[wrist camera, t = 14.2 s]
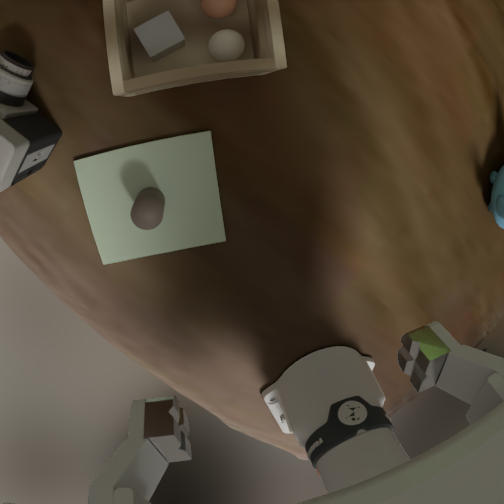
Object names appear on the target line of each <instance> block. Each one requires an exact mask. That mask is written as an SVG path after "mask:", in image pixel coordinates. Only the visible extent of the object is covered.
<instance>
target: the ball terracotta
mask: <svg viewBox="0 0 504 504" xmlns="http://www.w3.org/2000/svg"><path fill="white" fill-rule="evenodd" d="M236 5H237V0H201V1H200V6H201V9H202V11H203V12H204V13H205V14H206V15H207V16H209V17H211V18H224V17H227V16H229V15H230V14H231V13H232V12H233V11H234V10H235V8H236Z"/></svg>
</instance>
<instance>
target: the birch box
mask: <svg viewBox="0 0 504 504" xmlns="http://www.w3.org/2000/svg"><path fill="white" fill-rule="evenodd" d="M200 1H201V0H103V14H104V26H105V37H106V46H107V55H108V63H109V71H110V78H111V85H112V92H113V95H116V96H126V97H132V96H136V95H140V94H144V93H149V92H153V91H158V90H162V89H167V88H172V87H178V86H183V85H189V84H194V83H201V82H207V81H214V80H221V79H229V78H238V77H247V76H258V75H265V74H268V73H271V72H274V71H278V70H281V69H284V68H287V62H286V54H285V46H284V39H283V31H282V24H281V17H280V10H279V3H278V0H237V5H236V8H235V10H234V11H233V12H232V13H231V14H230V15H229V16H227V17H224V18H211V17H209V16H207V15H206V14H205V13H204V12H203V11H202V9H201V6H200ZM166 11H169V12H170V14H171V16H172V17H173V19H174V21H175V22H176V24H177V26H178V27H179V29H180V31H181V32H182V34H183V36H184V38H185V46H184V47H182V48H180V49H178V50H176V51H174V52H172V53H170V54H168V55H167V56H165V57H163V58H161V59H159V60H158V61H156V62H153V61H152V59H151V58H150V56H149V55H148V53H147V51H146V50H145V48H144V46H143V44H142V43H141V41H140V39H139V38H138V36H137V34H136V32H135V31H134V28H136V27H138V26H140V25H142V24H143V23H145V22H147V21H149V20H151V19H153V18H154V17H156V16H158V15H160V14H162V13H164V12H166ZM224 29H230V30H234V31H236V32H238V33H239V34H240V35H241V36H242V37H243V39H244V41H245V50H244V52H243V54H242V55H241V56H240V57H239V58H238V59H237V60H235V61H228V62H220V61H218V60H216V59H214V58H213V57H212V56H211V54H210V53H209V50H208V43H209V40H210V38H211V37H212V35H214V34H215V33H216V32H218V31H220V30H224Z"/></svg>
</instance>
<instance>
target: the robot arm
mask: <svg viewBox="0 0 504 504" xmlns="http://www.w3.org/2000/svg"><path fill="white" fill-rule="evenodd" d="M401 343H402V344H403V345H402V347H401V348H400V349H399V351H398V356H397V357H398V363H399V366H400V368H401V370H402V371H403V373H405V374H408V375H410V382H411V384H412V385H413V387H414V388H415V390H416V391H417V392H418V393H419V392H421V391H424V390H426V389H428V388H430V387H432V386H434V385H436V386H437V387H438V388H440V389H442V390H444V391H446V392H448V393H450V394H451V395H453V396H455V397H457V398H459V399H461V400H463V401H465V402H467V403H469V404H470V405H472V406H471V408H470V410H469V411H468V413H467V415H466V418H467V420H468V421H469V422H470V424H471V425H470V426H468V427H467V428H466V429H464V430H462V431H461V432H459V433H457V434H456V435H454V436H453V437H451V438H449V439H448V440H446V441H444V442H442V443H441V444H439V445H437V446H436V447H434V448H432V449H430V450H428V451H427V452H425V453H423V454H421V455H419V456H417V457H415V458H413V459H411V460H410V458H409V457H408V456H407V454H406V453H405V451H404V450H403V448H402V446H401V445H400V443H399V442H398V440H397V438H396V437H395V435H394V433H393V431H394V427H393V425H392V423H391V420H390V418H389V416H388V415H387V414H386V412H385V411H384V409H383V408H382V406H383V404H384V401H385V396H384V394H383V392H382V390H381V388H380V386H379V384H378V382H377V380H376V378H375V376H374V374H373V372H372V370H373V368H374V366H375V363H374V361H373V359H372V358H370V357H364V356H361V355H360V354H359V353H358V352H357V351H356V350H354V349H352V348H350V347H344V346H335V347H329V348H324V349H321V350H318V351H315V352H313V353H311V354H308V355H306V356H305V357H303V358H301V359H300V360H298V361H297V362H295V363H294V364H292V365H291V366H290V367H289V368H288V369H287V370H286V371H285V372H284V373H283V374H282V376H281V377H280V378H279V379H278V380H277V381H276V382H275V383H274V384H272V385H271V386H269V387H268V388H266V389H265V390H264V391H263V392H262V397H263V399H264V401H265V402H266V404H267V406H268V408H269V409H270V411H271V413H272V414H273V416H274V418H275V420H276V421H277V423H278V425H279V426H280V428H281V430H282V431H283V433H294V435H295V438H296V440H297V441H298V443H299V445H300V447H302V448H305V450H306V452H307V454H308V458H309V461H310V462H311V463H312V465H313V467H314V468H315V469H317V472H318V474H319V475H320V477H321V479H322V482H323V485H324V487H325V490H326V492H327V494H325V495H322V496H319V497H316V498H313V499H309V500H306V501H302V502H298V503H295V504H504V358H501V357H498V356H495V355H492V354H489V353H486V352H484V351H481V350H478V349H475V348H472V347H469V346H466V345H462V346H461V345H460V344H459V343H458V342H457V341H456V340H455V339H454V338H453V337H452V336H451V335H450V333H449V332H448V331H447V330H446V329H445V328H444V327H443V326H442V325H441V324H440V323H439V322H437V321H435V322H432V323H430V324H427V325H425V326H422V327H420V328H417V329H415V330H413V331H410V332H408V333H405V334H404V335H403V336H402V338H401ZM188 434H189V424H188V420H187V416H186V414H185V411H184V410H183V408H180V407H179V401H178V399H177V397H176V396H170V397H160V398H151V399H141V400H133V402H132V404H131V410H130V422H129V435H128V440H124V441H123V443H122V444H121V445H120V446H119V448H118V449H117V450H116V452H115V453H114V454H113V456H112V457H111V458H110V459H109V461H108V462H107V463H106V465H105V466H104V467H103V469H102V470H101V471H100V472H99V474H98V475H97V476H96V478H95V479H94V480H93V481H92V483H91V484H90V485H89V496H88V504H151V503H149V499H150V498H151V496H152V494H153V492H154V490H155V489H156V487H157V485H158V483H159V481H160V479H161V477H162V475H163V473H164V472H165V470H166V468H167V466H168V464H169V463H168V462H177V461H183V460H191V459H192V457H191V445H190V442H189V441H188V439H187V436H188ZM4 504H13V503H4Z"/></svg>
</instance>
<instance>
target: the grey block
mask: <svg viewBox="0 0 504 504" xmlns="http://www.w3.org/2000/svg"><path fill="white" fill-rule="evenodd" d="M134 31H135V32H136V34H137V36H138V38H139V39H140V41H141V43H142V44H143V46H144V48H145V50H146V51H147V53H148V55H149V56H150V58H151V59H152V61H153V62H156V61H158V60H159V59H161V58H163V57H165V56H167V55H168V54H170V53H172V52H174V51H176V50H178V49H180V48H182V47H184V46H185V38H184V36H183V34H182V32H181V31H180V29H179V27H178V26H177V24H176V22H175V21H174V19H173V17H172V16H171V14H170V12H169V11H166V12H164V13H162V14H160V15H158V16H156V17H154V18H153V19H151V20H149V21H147V22H145V23H143V24H142V25H140V26H138V27H136V28H134Z"/></svg>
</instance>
